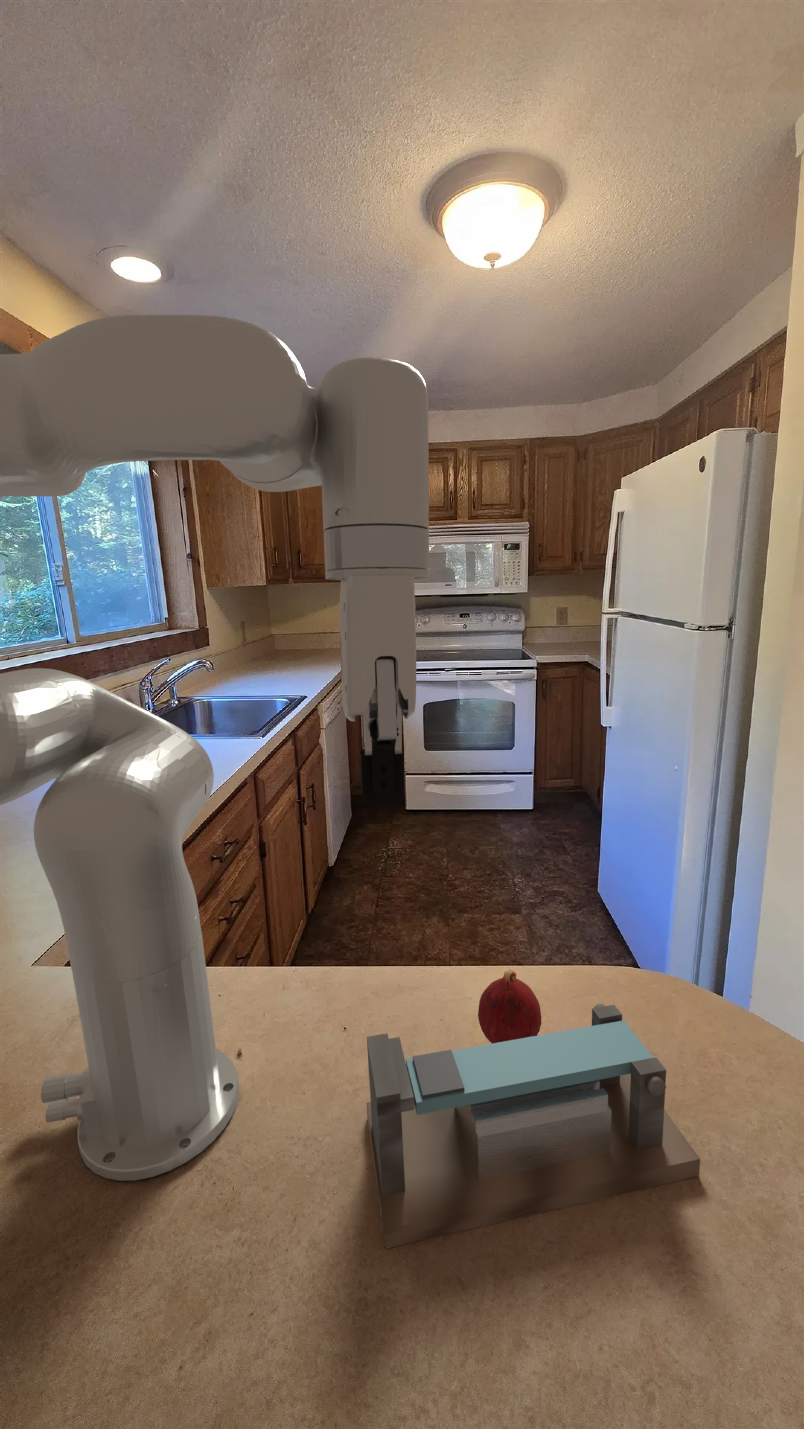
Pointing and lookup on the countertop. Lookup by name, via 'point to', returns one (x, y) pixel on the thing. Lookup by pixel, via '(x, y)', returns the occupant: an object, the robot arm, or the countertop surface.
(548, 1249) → the countertop surface
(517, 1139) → the heat sink
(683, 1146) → the clip base
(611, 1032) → the bar
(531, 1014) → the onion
